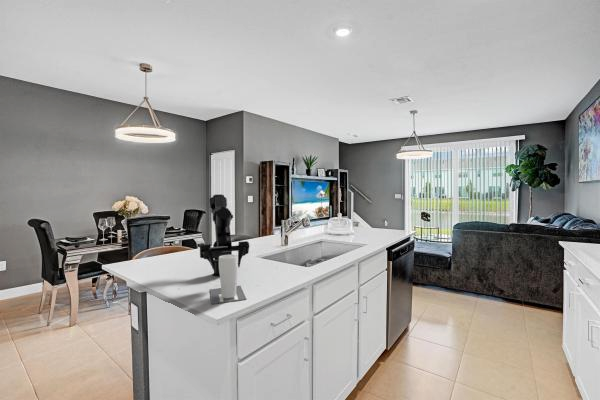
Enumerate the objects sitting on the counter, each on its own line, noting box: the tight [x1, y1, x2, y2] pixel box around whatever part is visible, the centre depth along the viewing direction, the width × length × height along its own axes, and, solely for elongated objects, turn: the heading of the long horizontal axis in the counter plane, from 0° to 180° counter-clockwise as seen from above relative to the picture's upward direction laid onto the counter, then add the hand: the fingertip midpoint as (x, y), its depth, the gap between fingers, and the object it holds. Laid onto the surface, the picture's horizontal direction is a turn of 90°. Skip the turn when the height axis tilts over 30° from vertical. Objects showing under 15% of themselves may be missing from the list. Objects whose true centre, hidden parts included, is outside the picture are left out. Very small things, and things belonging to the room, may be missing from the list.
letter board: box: [209, 285, 247, 305], centre depth 112 cm, size 16×12×1 cm
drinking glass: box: [219, 254, 239, 299], centre depth 109 cm, size 7×7×15 cm
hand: (226, 268), depth 111 cm, fingers open, 9 cm apart
